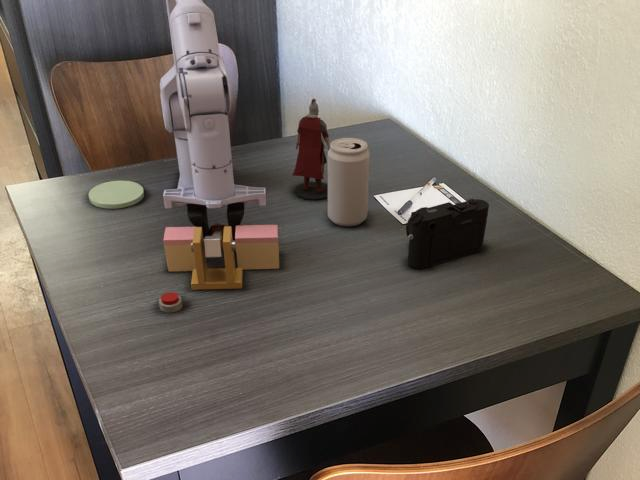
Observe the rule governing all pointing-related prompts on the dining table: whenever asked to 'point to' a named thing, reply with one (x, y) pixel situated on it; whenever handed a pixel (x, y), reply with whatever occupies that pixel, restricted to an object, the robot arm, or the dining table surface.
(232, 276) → the stand
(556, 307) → the dining table surface
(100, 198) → the plate
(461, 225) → the camera
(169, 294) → the push button
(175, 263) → the cake slice
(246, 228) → the cake
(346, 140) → the beverage can
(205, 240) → the cutter
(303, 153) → the figurine
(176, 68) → the robot arm
